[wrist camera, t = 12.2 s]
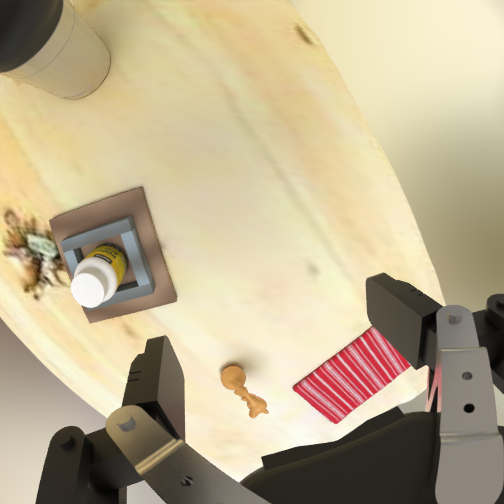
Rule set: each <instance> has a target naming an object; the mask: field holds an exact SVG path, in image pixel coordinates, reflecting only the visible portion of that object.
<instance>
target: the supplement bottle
mask: <svg viewBox="0 0 504 504" xmlns="http://www.w3.org/2000/svg"><path fill="white" fill-rule="evenodd" d="M127 269H128V259H127V256H126V254H125V252H124V251H123V250H122V249H121V248H120V247H119V246H117V245H115V244H112V243H103V244H101V245H99V246H97V247H96V248H95V249H94V250H93V251H92V252H91V253H90V254H88V255H87V256H86V257H85V258H84V259H83V260H82V261H81V262H80V263H79V264H78V266H77V267H76V270H75V273H74V278H73V280H72V283H71V292H72V295H73V297H74V298H75V300H76V301H77V302H78V303H79V304H81V305H82V306H85V307H89V308H93V307H96V306H98V305H100V304H101V303H102V302H105V301H107V300H109V299H110V298H111V297H112V296H113V295H114V293H115V291H116V290H117V288H118V286H119V284H120V283H121V281H122V279H123V277H124V276H125V274H126V272H127Z"/></svg>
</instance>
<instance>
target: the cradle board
mask: <svg viewBox="0 0 504 504" xmlns="http://www.w3.org/2000/svg"><path fill="white" fill-rule="evenodd" d="M49 223H50V226H51V229H52V232H53V235H54V238H55V241H56V244H57V246H58V249H59V252H60V255H61V257H62V260H63V263H64V265H65V268H66V270H67V273H68V275H69V278H70V280H71V283H72V280H73V278H74V273H75V270H76V267H77V266H78V264H79V263H80V262H81V261H82V260H83V259H84V258H85V257H86V256H87V255H88V254H90V253H91V252H92V251H93V250H94V249H95V248H96V247H97V246H99V245H101V244H103V243H112V244H115V245H117V246H119V247H120V248H121V249H122V250H123V251H124V252H125V254H126V256H127V259H128V269H127V272H126V274H125V276H124V277H123V279H122V281H121V283H120V284H119V286H118V288H117V290H116V291H115V293H114V295H113V296H112V297H111V298H110V299H109V300H107V301H105V302H102V303H101V304H100V305H98V306H96V307H93V308H89V307H85V306H82V305H81V306H82V308H83V310H84V312H85V314H86V317H87V319H88V321H89V323H94V322H98V321H102V320H106V319H110V318H114V317H119V316H123V315H127V314H131V313H135V312H139V311H142V310H146V309H150V308H154V307H158V306H162V305H166V304H170V303H174V302H177V295H176V293H175V290H174V287H173V284H172V281H171V278H170V275H169V272H168V269H167V267H166V264H165V261H164V257H163V254H162V251H161V248H160V245H159V242H158V239H157V236H156V232H155V229H154V226H153V222H152V219H151V216H150V212H149V209H148V205H147V202H146V198H145V195H144V191H143V188H142V187H140V188H137V189H133V190H130V191H127V192H124V193H121V194H118V195H115V196H112V197H109V198H106V199H103V200H101V201H98V202H95V203H92V204H89V205H87V206H84V207H81V208H78V209H76V210H73V211H70V212H68V213H65V214H63V215H60V216H57V217H55V218H53V219H51V220H49Z"/></svg>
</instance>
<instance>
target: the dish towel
mask: <svg viewBox="0 0 504 504" xmlns="http://www.w3.org/2000/svg"><path fill="white" fill-rule="evenodd" d="M410 366H412V365H411V364H410V363H409V362H408V361H407V360H406V359H405V358H404V357H403V356H402V355H401V354H400V353H399V352H398V351H397V350H396V349H395V348H394V347H393V346H392V345H391V344H390V343H389V342H388V341H387V340H386V339H385V338H384V337H383V336H382V335H381V334H380V333H379V332H378V331H377V330H376V329H375V328H374V326H372V327H371V328H369V329H368V330H367V331H366V332H365V333H364V334H362V335H361V336H359V337H358V338H357V339H356V340H354V341H353V342H352V343H351V344H349V345H348V346H347V347H346V348H344V349H343V350H342V351H340V352H339V353H337V354H336V355H334V356H333V357H332V358H330V359H329V360H328V361H326V362H325V363H323V364H322V365H321V366H320V367H318V368H317V369H316V370H314V371H313V372H312V373H311V374H309V375H308V376H307V377H305V378H304V379H302V380H301V381H300V382H299V383H297V384H296V385H295V386H294V387H293V390H294V391H295V392H297V393H298V394H299V395H300V396H302V397H303V398H304V399H305V400H306V401H307V402H308V403H309V404H311V405H312V406H313V407H314V408H315V409H316V410H318V411H319V412H320V413H321V414H322V415H323V416H325V417H326V418H327V419H328V420H329V421H331V422H333V423H334V424H337V423H339V422H340V421H341V420H342V419H344V418H345V417H346V416H347V415H348V414H349V413H350V412H351V411H353V410H355V409H356V408H357V407H358V406H360V405H361V404H363V403H364V402H365V401H366V400H368V399H369V398H370V397H371V396H373V395H374V394H375V393H377V392H378V391H380V390H381V389H383V388H384V387H385V386H386V385H388V384H389V383H390V382H392V381H393V380H394V379H395V378H396V377H397V376H398V375H400V374H401V373H403V372H404V371H405V370H407V369H408V368H409V367H410Z"/></svg>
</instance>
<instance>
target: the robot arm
mask: <svg viewBox="0 0 504 504" xmlns="http://www.w3.org/2000/svg"><path fill="white" fill-rule="evenodd" d="M109 67H110V53H109V51H108V48H107V47H106V46H105V44H104V43H103V42H102V41H101V40H100V38H99V37H98V36H97V34H96V33H95V32H94V31H93V30H92V28H91V27H90V26H89V25H88V24H87V22H86V21H85V20H84V19H83V18H82V16H81V15H80V14H79V13H78V12H77V10H76V9H75V8H74V7H73V6H72V4H71V3H70V2H69V1H68V0H0V74H1V75H3V76H6V77H9V78H12V79H15V80H18V81H20V82H23V83H26V84H28V85H31V86H34V87H36V88H39V89H41V90H44V91H47V92H49V93H52V94H54V95H57V96H59V97H62V98H64V99H69V100H74V99H79V98H83V97H85V96H87V95H89V94H91V93H92V92H93V91H94V90H96V89H97V88H98V87H99V86H100V85H101V83H102V82H103V81H104V79H105V78H106V75H107V73H108V71H109ZM366 300H367V315H368V318H369V321H370V323H371V324H372V325H373V326H374V328H375V329H376V330H377V331H378V332H379V333H380V334H381V335H382V336H383V337H384V338H385V339H386V340H387V341H388V342H389V343H390V344H391V345H392V346H393V347H394V348H395V349H396V350H397V351H398V352H399V353H400V354H401V355H402V356H403V357H404V358H405V359H406V360H407V361H408V362H409V363H410V364H411V365H412V367H413V368H414V369H415V370H417V369H419V368H421V367H423V366H425V365H427V366H428V367H429V370H428V380H427V398H426V409H425V412H422V411H421V412H411V413H405V414H403V413H402V411H401V410H400V409H399V407H398V406H397V407H395V408H393V409H391V410H389V411H386V412H384V413H382V414H380V415H378V416H376V417H373V418H371V419H369V420H367V421H366V422H364V423H363V424H361V425H360V426H359V427H357V428H356V429H354V430H353V431H351V432H350V433H348V434H347V435H345V436H344V437H342V438H341V439H339V440H337V441H334V442H328V443H321V444H314V445H306V446H298V447H294V448H291V449H287V450H284V451H281V452H277V453H274V454H270V455H266V456H262V457H261V458H262V462H263V467H261V468H259V469H257V470H256V471H254V472H252V473H251V474H249V475H248V476H247V477H245V478H244V479H243V480H242V481H240V482H239V483H238V482H237V481H235V480H234V479H232V478H231V477H229V476H228V475H227V474H225V473H224V472H222V471H221V470H220V469H218V468H217V467H216V466H214V465H213V464H212V463H210V462H209V461H208V460H206V459H205V458H204V457H202V456H201V455H200V454H199V453H197V452H196V451H195V450H194V449H192V448H191V447H190V446H189V445H188V444H186V443H185V401H184V375H183V371H182V368H181V366H180V363H179V361H178V359H177V357H176V354H175V352H174V350H173V348H172V345H171V343H170V341H169V339H168V337H167V336H166V335H165V336H161V337H156V338H152V339H148V340H147V343H146V348H145V352H144V353H143V354H138V355H137V357H136V358H135V359H134V361H133V362H132V363H131V367H130V371H129V374H130V375H129V376H128V380H127V381H128V382H127V384H126V389H125V393H124V398H123V402H122V407H121V408H119V409H117V410H115V411H114V412H113V413H112V414H111V415H110V416H109V417H108V419H107V421H106V427H105V428H103V429H101V430H98V431H95V432H92V433H90V434H87V435H85V434H84V432H83V431H82V430H81V429H80V428H78V427H76V426H68V427H64V428H62V429H61V430H59V431H58V432H56V433H55V435H54V436H53V437H52V439H51V441H50V445H49V448H48V452H47V456H46V460H45V463H44V467H43V471H42V476H41V480H40V484H39V489H38V494H37V498H36V504H126V503H127V501H126V500H127V498H126V497H127V486H129V485H132V484H135V483H137V482H140V481H143V480H145V481H146V482H147V483H148V484H149V486H150V487H151V488H152V489H153V490H154V491H155V492H156V493H157V494H158V495H159V496H160V498H161V499H162V500H163V501H164V502H165V503H166V504H504V427H503V426H498V425H497V416H496V404H495V396H494V388H493V384H494V385H495V386H496V387H497V388H498V389H499V390H500V391H501V392H502V393H503V394H504V294H495V295H492V296H490V297H489V298H488V300H487V304H486V309H485V310H482V311H477V312H473V313H471V311H470V310H469V309H467V308H465V307H463V306H460V305H449V306H444V307H443V306H442V305H440V304H439V303H437V302H436V301H435V300H433V299H432V298H430V297H429V296H427V295H426V294H423V292H421V291H420V290H417V288H415V287H414V286H412V285H411V284H409V283H407V282H403V281H400V280H395V279H393V278H392V277H390V276H389V275H387V274H386V273H380V274H378V275H375V276H372V277H369V278H367V280H366Z"/></svg>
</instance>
